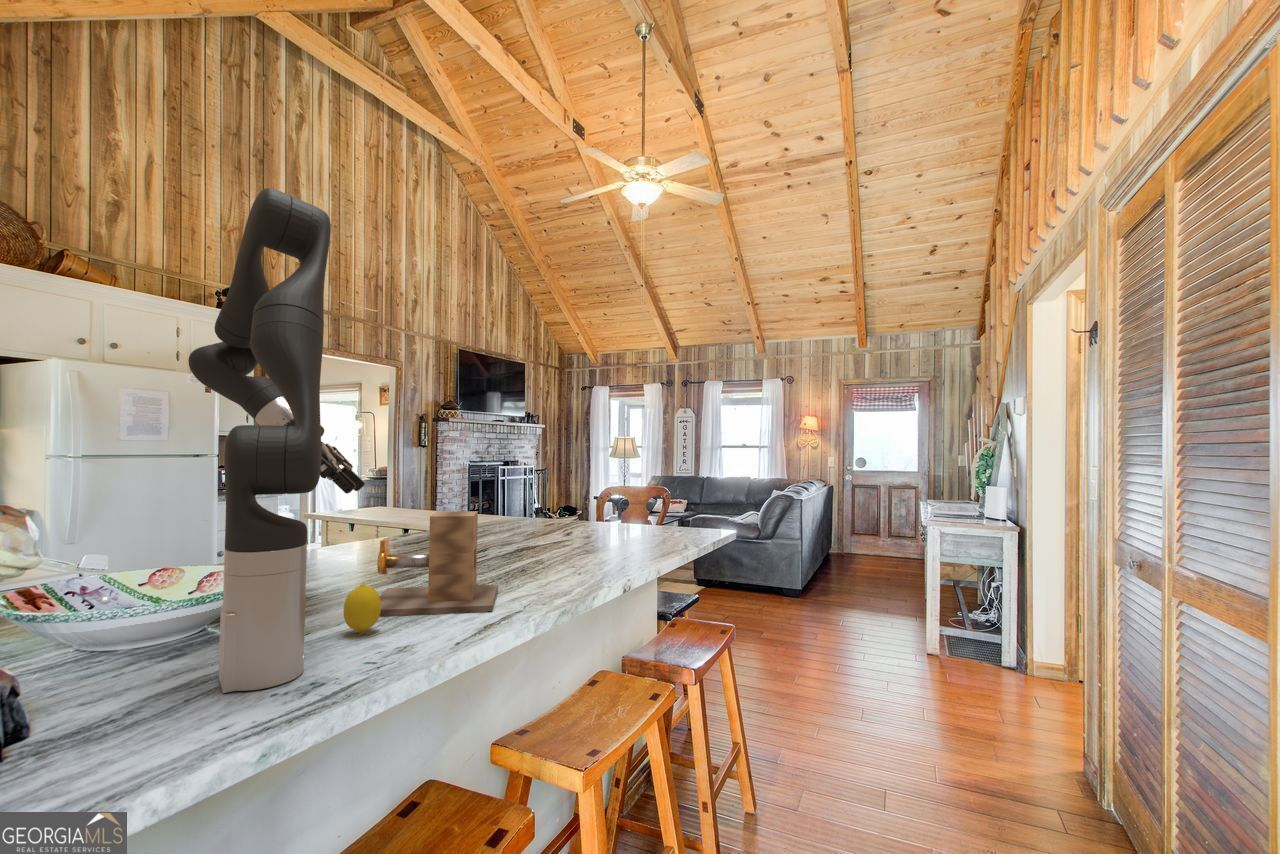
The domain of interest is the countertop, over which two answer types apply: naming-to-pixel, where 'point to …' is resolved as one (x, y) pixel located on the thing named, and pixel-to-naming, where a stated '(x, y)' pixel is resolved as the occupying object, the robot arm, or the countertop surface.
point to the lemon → (362, 608)
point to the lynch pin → (398, 559)
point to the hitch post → (446, 572)
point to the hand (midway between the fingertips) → (356, 488)
